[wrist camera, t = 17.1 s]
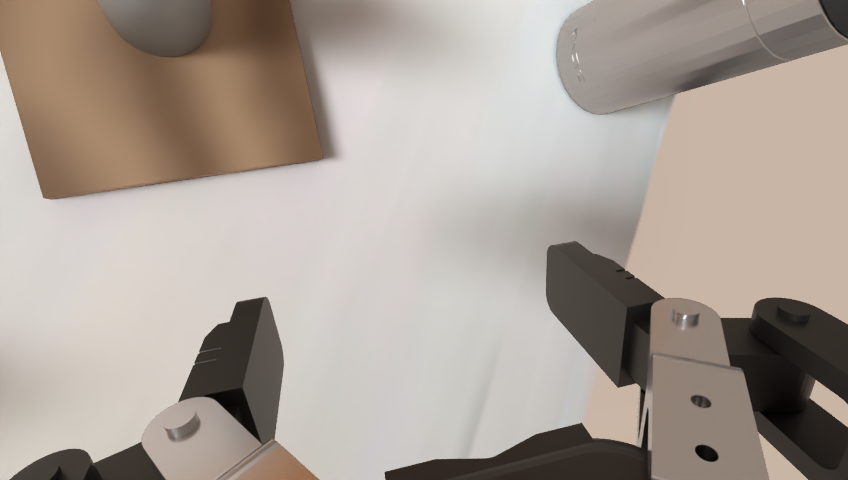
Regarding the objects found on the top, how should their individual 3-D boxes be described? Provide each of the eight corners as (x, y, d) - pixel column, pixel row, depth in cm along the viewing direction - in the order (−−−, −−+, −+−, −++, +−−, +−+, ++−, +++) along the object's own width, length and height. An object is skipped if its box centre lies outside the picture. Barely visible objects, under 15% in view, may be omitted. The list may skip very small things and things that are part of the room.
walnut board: (254, -139, 26) (256, -155, 25) (318, 160, 29) (323, 157, 27) (-60, -184, 20) (-75, -206, 19) (51, 199, 23) (43, 198, 22)
